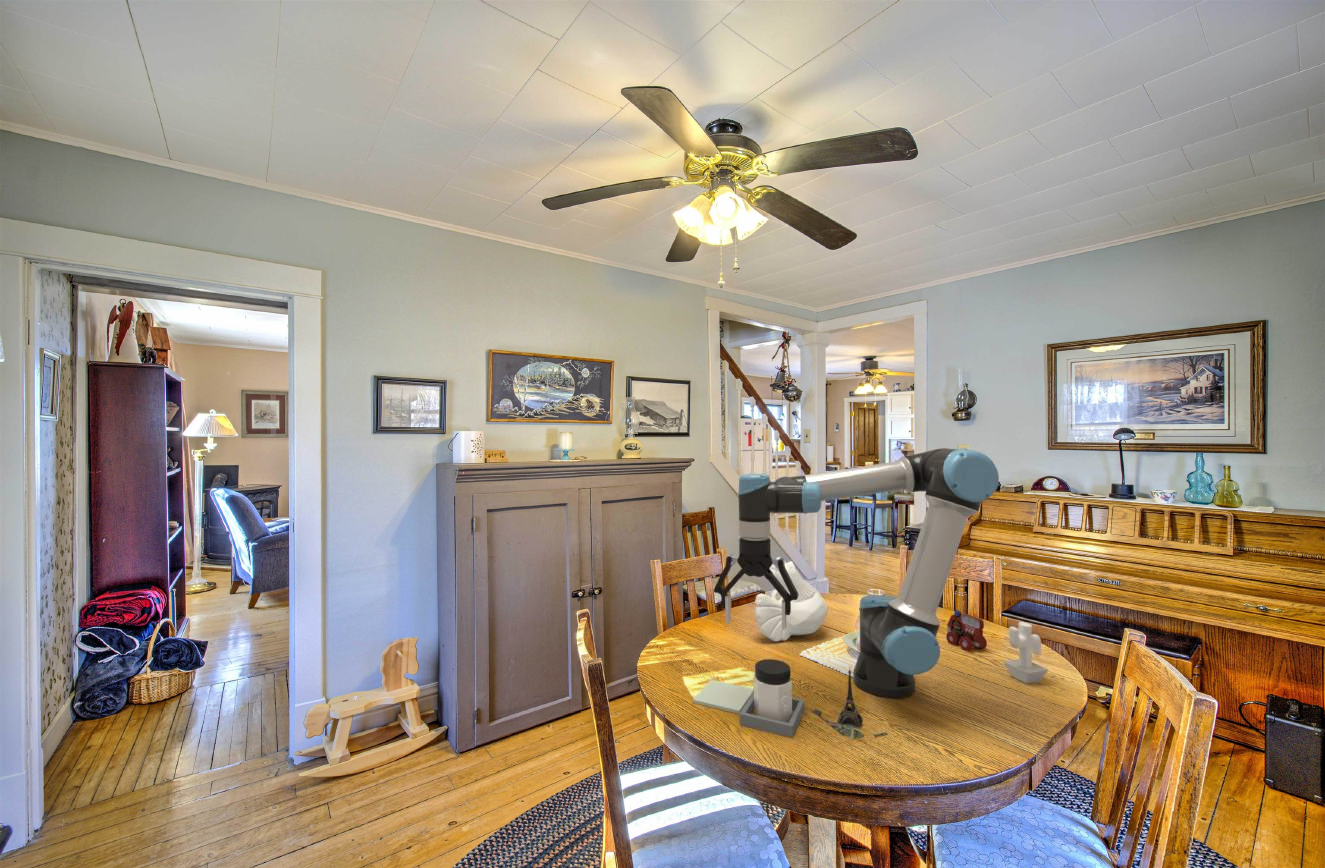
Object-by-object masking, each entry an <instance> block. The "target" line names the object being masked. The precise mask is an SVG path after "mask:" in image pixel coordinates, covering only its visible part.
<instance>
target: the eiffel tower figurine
mask: <svg viewBox="0 0 1325 868" xmlns="http://www.w3.org/2000/svg"><path fill="white" fill-rule="evenodd" d="M848 667H849V670H848V679H847V682H848V683H847V684H848V686H847V696H846V698H845V701H846V702H845V704H844V705H843V708H842V710H841V712H840V713H839V714H838V718H837V722H836V721H834V722H833V721H830V720H827V719H825V718H823V716H822V715H823V711H822V710H819V709H816V708H815V709H811V711H812V712H813V713H814V714H815V715H817V716H818V718H820V719H821V720H822V721H824V722H825V723H826V724H828V725H829V726H830V727H831V728H833V729H834V730H835V731H836V732H837V733H839V734H840V735H841V736H843V737H846V738H851V739H862V738H865V737H866V734H864V733H863V732H861V731H862V729H863V721H864V718H863V717H862V715H861V714H860V713H859V711H858V708H857V707H856V704H855V702H854V700H855V699H854V696H853V690H852V689H853V688H852V677H851V676H852V671H851V666H850V665H849V666H848ZM859 730H861V731H859ZM872 735H873V737H874V738H875V739H876V738H878V737H882V736H886V735H888V733H887V732H881V733H877V734H876V733H872Z"/></svg>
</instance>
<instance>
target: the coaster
mask: <svg viewBox="0 0 1325 868" xmlns="http://www.w3.org/2000/svg"><path fill="white" fill-rule="evenodd" d="M753 693H754V688H751V687H746V686H742V685H738V684H732V683H728V682H725V681H724V682H722V681H720V680H714V679H710V680H709V681H708V682H707V683H706V684H705V685H704V686H703V688H702V689H701V690H700V691H699V693H697V694H696V696H695V697H694V698H693V699H692V703H693V704H696V705H700V706H703V707H704V706H705V707H708V708H713V709H717V710H721V711H726V712H730V713H734V714H740V712H741V711H742V709H743V708H744V706H745V705H746V703H747V702H748V700H749V699H750V698H751V696H752V695H753Z"/></svg>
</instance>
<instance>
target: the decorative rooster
mask: <svg viewBox="0 0 1325 868" xmlns="http://www.w3.org/2000/svg"><path fill="white" fill-rule="evenodd" d="M780 558H781V557H780V556H779V557H776V559H780ZM784 564H785V568H786V570H787V572H788V574H789V576H790V578H791V580H792V582H793V584H794V586H795V588H796V590H797V592H798V598H797V600H792V601H791V612H790V615H786V629H785V630H782V600H783V598H782V596H781V595H780V594H779V593H778V592H777V590H776V589H775V588H774V589H773V590H772V592H771V594H770V595H771V596H769V595H767V594H765V593H758V594H757V595H756V596H755V601H754V605H755V606H756V607H755V610H754V616H755V618H756V623H757V624H758V630H759V632H760V633H762V635H763V636H765V637H767V638H768V639H770V640H771V641H772V642H776V643H777V642H780V641H783V642H785V641H787V640H788V639H790V637H791V636H804V635H811V634H813V633H815V632H817V631H818V630H819V628H820V627H821V626H822V625H823V624H824V622H825V620H826V618H827V614H828V607H827V603H826V601H825V599H824V598H823V596H822V595H821V593H820V592H819V591H818V590H817V589H816V588H815V587H814V586H813V585H811V584H810V583H809V582H807V581H806V580H805V579H804V578H803V577H802V575H801V574H800V573H799V570H798V569H796V565H795V564H794V562H793V561H788V562H786V561H785V560H784ZM769 569H770V570H771V571H772V573H773V575H774V576H775V577H776V578H777V580H778V581H779V582H780V583H781V584H782V586H783V587H784V588H785V589H786V591H787V592H788V593H789V594H790V592H789V590H788V588H787V586H786V584H785V582H784V580H783V578H782V576H781V574H780V572H779V569H777V568H776V567H775V565H773V564H772V566H771V567H770V568H769ZM777 595H779V598H778V599H777V597H776V596H777Z"/></svg>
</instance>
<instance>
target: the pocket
mask: <svg viewBox="0 0 1325 868" xmlns="http://www.w3.org/2000/svg"><path fill="white" fill-rule="evenodd" d="M805 701H806V700H805V699H804V698H803V699H802V698H797V697H793V696H792V711H794V712H792V717H791V719H790V721H789V723H786V722H782V721H778V720H773V719H769V718H765V717H761V716H757V715H755V714H752V713H753V712H754V693H753V695H752V696H751V698H750V699H749V700H748V702H747V703H746V705H745V706H744V708H743V709H742V711H741V712H740V714H739V716H738V717H739V718H738V719H739V725H740V726H744V727H747V728H751V729H754V730H759V731H764V732H766V733H767V732H768V733H771V734H774V735H778V736H779V735H780V736H782V737H788V738H791V739H793V737H794V735H795V733H796V730H797V728H798V726H799V724H800V721H801V719H802V717H803V715H804V713H805V710H806V708H805V707H806V704H805V703H806V702H805Z"/></svg>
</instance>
